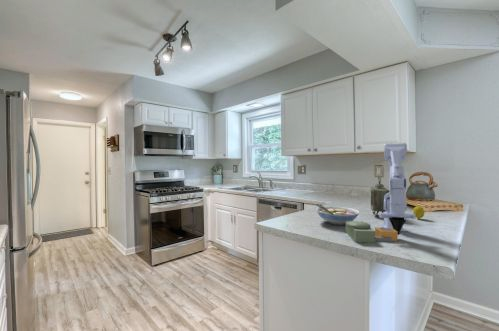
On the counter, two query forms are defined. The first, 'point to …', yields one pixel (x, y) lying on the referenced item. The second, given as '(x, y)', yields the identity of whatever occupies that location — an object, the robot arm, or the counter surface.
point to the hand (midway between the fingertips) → (396, 234)
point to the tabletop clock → (378, 198)
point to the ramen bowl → (337, 214)
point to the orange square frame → (386, 233)
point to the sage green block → (363, 232)
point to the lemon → (418, 212)
